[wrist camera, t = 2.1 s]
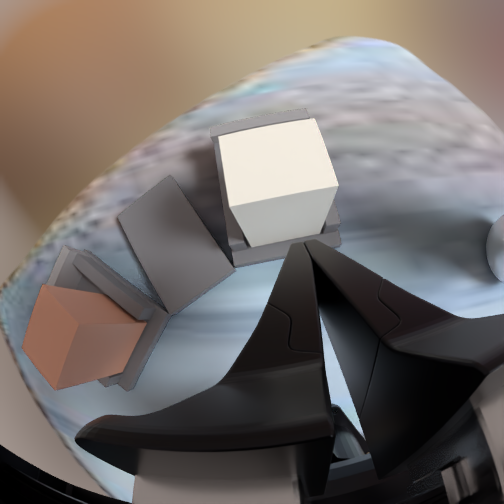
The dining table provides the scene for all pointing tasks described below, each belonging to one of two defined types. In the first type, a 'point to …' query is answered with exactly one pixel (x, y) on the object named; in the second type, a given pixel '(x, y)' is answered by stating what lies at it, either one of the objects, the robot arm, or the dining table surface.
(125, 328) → the terracotta key
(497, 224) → the plastic bottle
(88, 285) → the grey tray
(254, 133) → the cream key
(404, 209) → the dining table surface
